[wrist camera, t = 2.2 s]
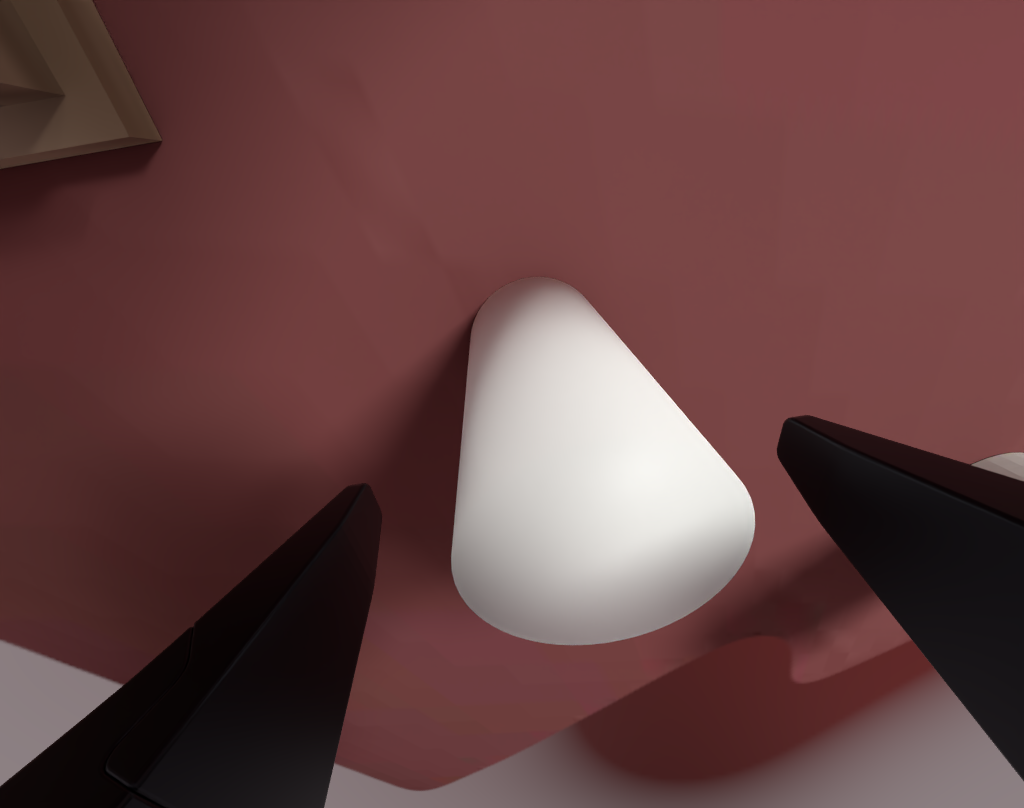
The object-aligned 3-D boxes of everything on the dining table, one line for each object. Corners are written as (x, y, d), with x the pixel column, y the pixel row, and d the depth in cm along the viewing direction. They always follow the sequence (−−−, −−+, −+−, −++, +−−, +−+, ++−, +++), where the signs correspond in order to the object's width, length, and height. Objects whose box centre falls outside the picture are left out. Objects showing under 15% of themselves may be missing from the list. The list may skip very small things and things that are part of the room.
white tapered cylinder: (596, 266, 14) (785, 412, 5) (600, 388, 16) (731, 624, 8) (458, 289, 14) (414, 469, 5) (483, 407, 16) (482, 660, 8)
